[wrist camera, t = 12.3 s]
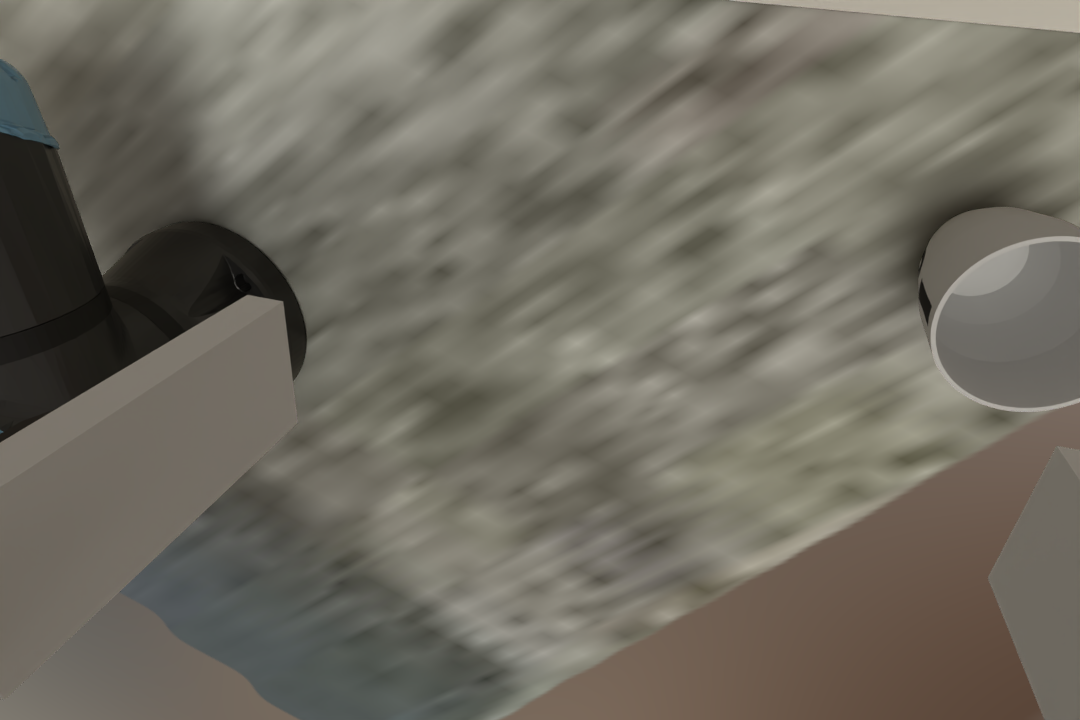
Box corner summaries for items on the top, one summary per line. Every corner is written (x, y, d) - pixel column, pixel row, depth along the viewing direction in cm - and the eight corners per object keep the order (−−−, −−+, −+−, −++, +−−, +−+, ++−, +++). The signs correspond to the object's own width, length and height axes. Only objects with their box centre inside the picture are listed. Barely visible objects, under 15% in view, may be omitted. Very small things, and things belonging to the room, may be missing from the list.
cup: (868, 230, 39) (897, 297, 30) (1028, 147, 35) (1113, 197, 26) (933, 344, 41) (977, 438, 32) (1092, 278, 37) (1189, 364, 28)
